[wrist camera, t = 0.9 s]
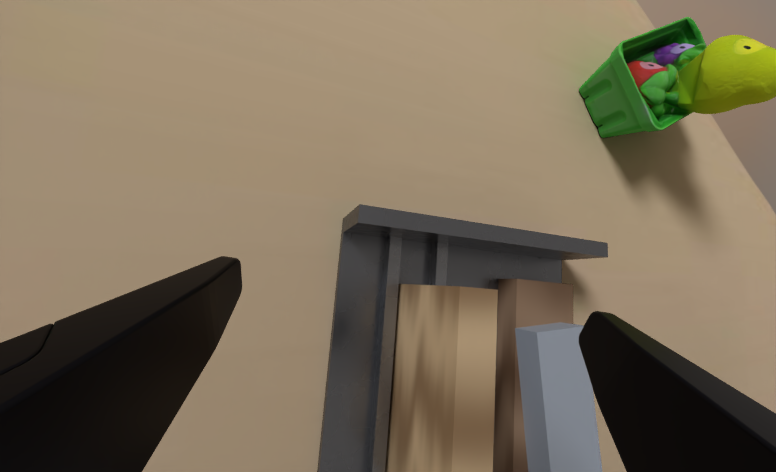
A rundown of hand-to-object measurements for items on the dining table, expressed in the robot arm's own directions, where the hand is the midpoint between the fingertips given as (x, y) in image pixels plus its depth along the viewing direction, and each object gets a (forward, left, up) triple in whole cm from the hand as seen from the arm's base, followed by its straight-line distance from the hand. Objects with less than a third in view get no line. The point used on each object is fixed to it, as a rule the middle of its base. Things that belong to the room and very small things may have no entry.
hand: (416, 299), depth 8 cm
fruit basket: (+20, -26, -14) cm, 36 cm away
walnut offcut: (-5, -15, -13) cm, 21 cm away
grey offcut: (-6, -15, -11) cm, 20 cm away
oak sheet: (-5, -5, -13) cm, 15 cm away
